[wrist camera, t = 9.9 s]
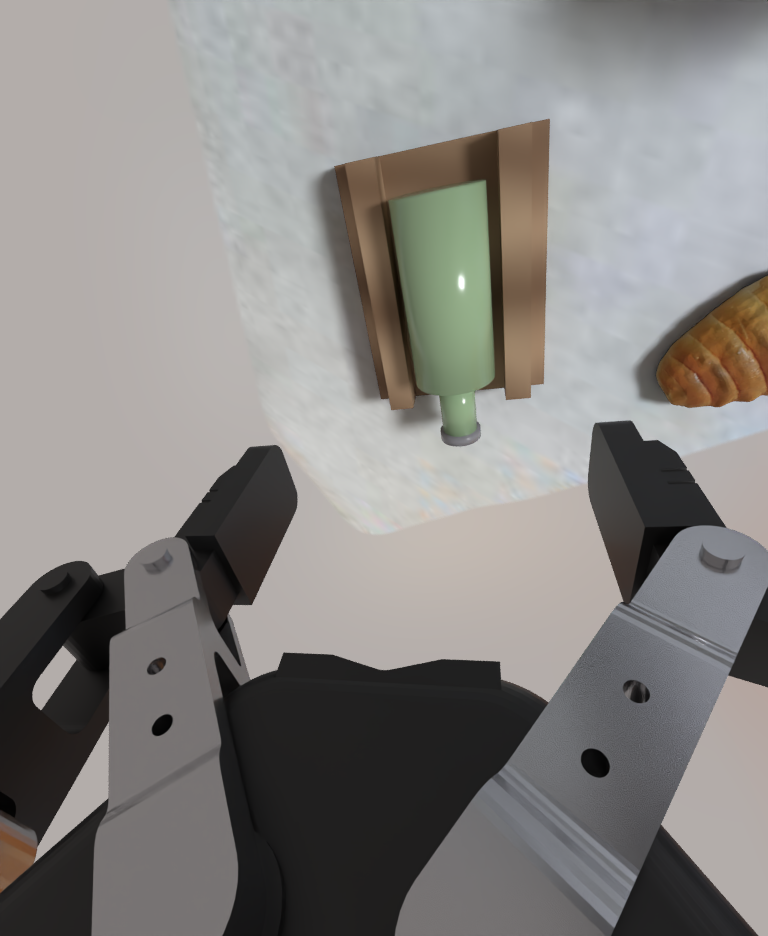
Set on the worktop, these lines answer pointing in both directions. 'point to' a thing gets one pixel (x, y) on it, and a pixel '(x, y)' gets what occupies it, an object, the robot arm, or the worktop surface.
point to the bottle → (447, 297)
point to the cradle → (510, 247)
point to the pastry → (721, 354)
